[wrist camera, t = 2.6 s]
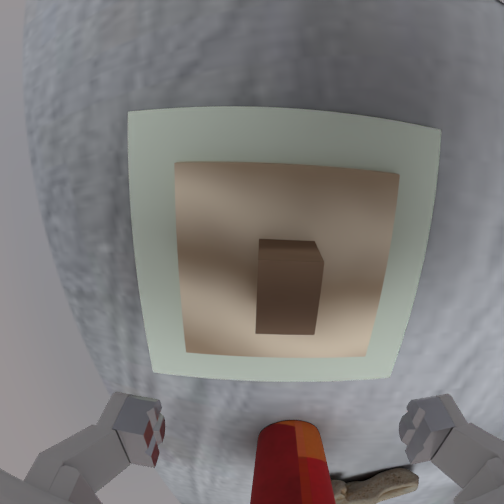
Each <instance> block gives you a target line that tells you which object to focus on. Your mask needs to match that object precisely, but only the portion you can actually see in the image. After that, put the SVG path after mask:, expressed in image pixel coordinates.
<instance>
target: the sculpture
mask: <svg viewBox="0 0 504 504" xmlns="http://www.w3.org/2000/svg"><path fill="white" fill-rule="evenodd" d="M418 479H419V477H418V476H417V475H416V474H414V473H413V472H411V471H410V470H408V469H404V468H394V469H390V470H387V471H384V472H381V473H379V474H377V475H376V476H374V477H372V478H370V479H368V480H366V481H352V482H348V483H345V482H344V481H340V480H331V484H332V488H333V493H334V498H335V503H336V504H376V503H378V502H380V501H383V500H387V499H390V498H393V497H397V496H400V495H403V494H406V493H410V492H413V491H415V490H416V489H417V487H418V481H419V480H418Z"/></svg>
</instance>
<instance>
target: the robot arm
mask: <svg viewBox="0 0 504 504" xmlns="http://www.w3.org/2000/svg"><path fill="white" fill-rule="evenodd" d="M499 1H501V2H503V3H504V0H499ZM161 409H162V406H161V402H160V400H158V399H152V398H147V397H141V396H136V395H131V394H125V393H120V392H115V393H113V394H112V396H111V398H110V400H109V402H108V403H107V405H106V407H105V409H104V411H103V413H102V415H101V417H100V419H99V421H98V423H97V425H91V426H89V427H87V428H85V429H83V430H82V431H80V432H78V433H76V434H74V435H73V436H71V437H69V438H67V439H65V440H63V441H62V442H60V443H58V444H56V445H54V446H52V447H51V448H48V449H47V450H45V451H43V452H41V453H39V455H38V457H37V458H36V460H35V462H34V463H33V465H32V467H31V469H30V471H29V472H28V474H27V476H26V478H25V479H24V481H22V480H20V479H18V478H17V477H15V476H13V475H11V474H9V473H7V472H6V471H4V470H2V469H0V504H103V503H102V502H101V501H100V500H99V498H98V497H97V496H96V494H95V493H96V492H97V491H99V490H100V489H101V488H102V487H104V486H105V485H106V484H107V483H109V482H110V481H111V480H112V479H113V478H115V477H116V476H117V475H118V474H120V473H121V472H122V471H123V470H124V469H126V468H127V467H128V466H129V465H130V463H131V464H136V465H142V466H147V467H153V468H155V466H156V462H157V459H158V456H159V449H158V445H159V444H161V443H162V442H163V439H164V434H165V419H164V416H163V415H162V414H161V413H160V412H161ZM407 410H408V412H407V413H406V414H405V415H404V416H402V418H401V421H400V423H399V435H400V438H401V441H402V442H403V443H405V444H406V445H407V447H406V450H405V452H406V454H407V457H408V459H409V462H410V465H411V464H416V463H421V462H425V461H430V460H431V462H432V463H433V464H434V465H435V466H437V467H438V468H439V469H440V470H441V471H442V472H444V473H445V474H446V475H447V476H448V477H449V478H451V479H452V480H453V481H454V482H455V483H457V484H458V485H459V486H460V487H461V488H462V490H461V491H460V492H459V493H458V494H457V495H456V496H455V498H454V503H455V504H504V441H502V440H501V439H499V438H497V437H495V436H493V435H492V434H490V433H488V432H486V431H485V430H483V429H481V428H479V427H478V426H476V425H474V424H472V423H467V421H466V420H465V418H464V416H463V414H462V413H461V411H460V410H459V408H458V406H457V405H456V403H455V401H454V400H453V398H452V397H451V395H449V394H443V395H438V396H432V397H426V398H420V399H414V400H411V401H410V402H409V403H408V406H407Z"/></svg>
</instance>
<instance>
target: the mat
mask: <svg viewBox="0 0 504 504" xmlns="http://www.w3.org/2000/svg"><path fill="white" fill-rule="evenodd" d="M440 144H441V130H439V129H435V128H430V127H426V126H421V125H416V124H411V123H406V122H401V121H395V120H389V119H383V118H377V117H370V116H363V115H356V114H348V113H339V112H330V111H320V110H308V109H295V108H277V107H247V106H214V107H183V108H166V109H152V110H141V111H131V112H128V170H129V192H130V208H131V222H132V233H133V244H134V254H135V263H136V271H137V279H138V287H139V294H140V301H141V307H142V314H143V320H144V326H145V332H146V337H147V343H148V348H149V353H150V358H151V363H152V368H153V372H154V373H162V374H170V375H179V376H189V377H199V378H211V379H225V380H243V381H271V382H322V381H349V380H366V379H380V378H390V375H391V372H392V370H393V367H394V364H395V361H396V358H397V355H398V352H399V349H400V346H401V343H402V340H403V337H404V334H405V331H406V327H407V324H408V321H409V317H410V314H411V310H412V307H413V303H414V299H415V295H416V292H417V288H418V284H419V279H420V275H421V271H422V267H423V262H424V257H425V253H426V248H427V243H428V237H429V232H430V226H431V220H432V214H433V208H434V201H435V194H436V186H437V177H438V168H439V157H440ZM190 161H225V162H266V163H288V164H305V165H320V166H333V167H344V168H355V169H365V170H374V171H383V172H391V173H396V174H399V175H400V179H399V188H398V197H397V205H396V212H395V219H394V226H393V233H392V239H391V245H390V251H389V256H388V262H387V267H386V272H385V277H384V282H383V287H382V292H381V296H380V301H379V305H378V310H377V314H376V318H375V322H374V326H373V330H372V334H371V338H370V341H369V345H368V349H367V352H366V356H365V357H336V358H276V357H246V356H227V355H212V354H199V353H187V352H186V347H185V338H184V328H183V318H182V307H181V295H180V283H179V269H178V253H177V234H176V211H175V173H174V163H176V162H190Z"/></svg>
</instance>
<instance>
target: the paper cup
mask: <svg viewBox="0 0 504 504" xmlns="http://www.w3.org/2000/svg"><path fill="white" fill-rule="evenodd" d="M250 504H336V503H335V498H334V493H333V488H332V484H331V479H330V475H329V470H328V466H327V461H326V457H325V453H324V448H323V444H322V441H321V437H320V433H319V431H318V429H317V428H316V427H315V426H314V425H312V424H310V423H308V422H304V421H298V420H287V421H281V422H277V423H274V424H271V425H269V426H267V427H266V428H264V429H263V430H262V431H261V433H260V435H259V438H258V443H257V451H256V459H255V468H254V476H253V485H252V493H251V502H250Z"/></svg>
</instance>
